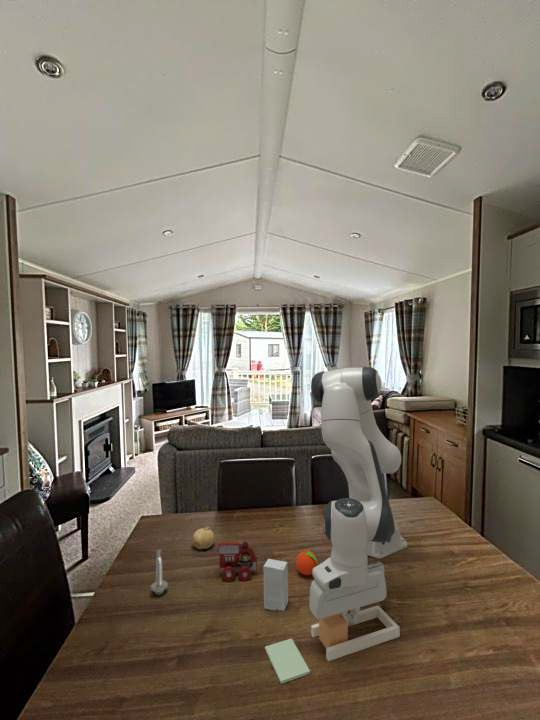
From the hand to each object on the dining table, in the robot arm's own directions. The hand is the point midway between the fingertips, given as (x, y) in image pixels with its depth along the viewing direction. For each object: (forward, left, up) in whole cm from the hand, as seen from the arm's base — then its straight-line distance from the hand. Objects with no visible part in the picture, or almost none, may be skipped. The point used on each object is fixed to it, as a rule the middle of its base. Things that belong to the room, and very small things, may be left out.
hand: (349, 624), depth 92 cm
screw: (+42, -36, -4) cm, 56 cm away
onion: (+25, -57, -4) cm, 63 cm away
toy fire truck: (+18, -36, -4) cm, 41 cm away
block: (+4, 0, -4) cm, 6 cm away
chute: (-2, 0, -4) cm, 5 cm away
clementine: (-3, -28, -4) cm, 29 cm away
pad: (+15, 0, -4) cm, 16 cm away
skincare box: (+12, -18, -4) cm, 22 cm away
